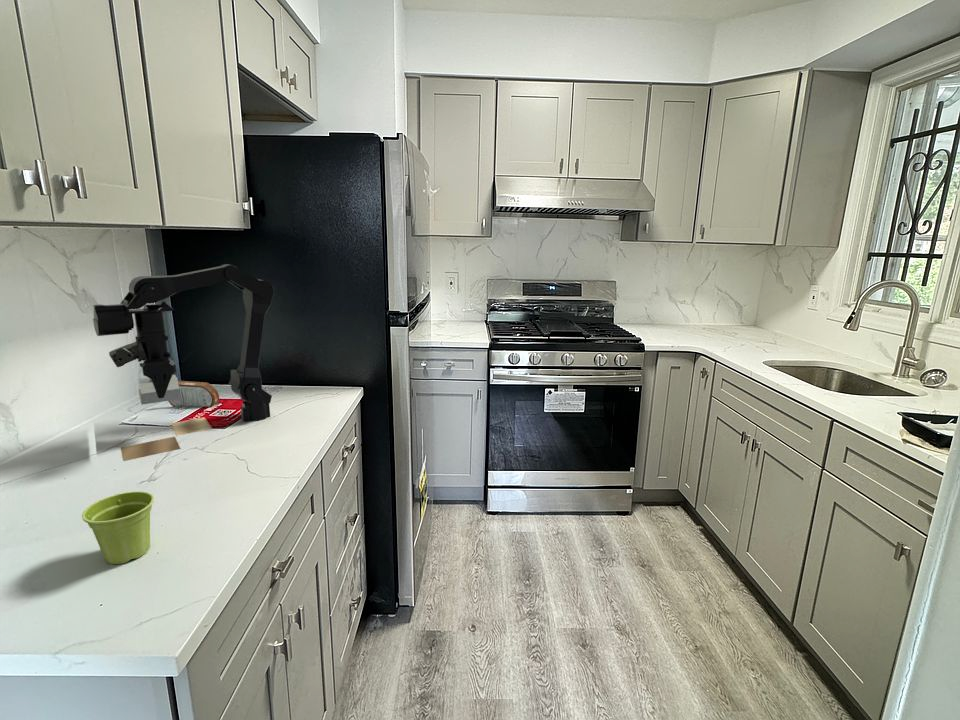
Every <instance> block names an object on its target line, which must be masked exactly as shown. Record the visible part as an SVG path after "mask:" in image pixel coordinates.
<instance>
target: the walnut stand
mask: <svg viewBox="0 0 960 720" xmlns="http://www.w3.org/2000/svg"><path fill="white" fill-rule="evenodd" d="M177 450H182V449H181V447H180V444H179V442H178V441H177V439H176V437H175V436H171V437H165V438H161V439H156V440H151V441H146V442H141V443H135V444H131V445H126V446H121V447H120V451H121V454H122V458H123V459H122V460H123V462H125V461H127V462H128V461H131V460H136V459H140V458H144V457H150V456H155V455H159V454H163V453H169V452H173V451H177Z"/></svg>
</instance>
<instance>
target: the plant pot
mask: <svg viewBox="0 0 960 720" xmlns="http://www.w3.org/2000/svg"><path fill="white" fill-rule="evenodd" d="M154 501H155V497H154V494H153V493H150V492H148V491H144V490H143V491H139V490H138V491H134V490H133V491H125V492H121V493H116V494H113V495H109V496H107V497H104V498H102V499H99V500H98V501H95V502H94V503H92V504H90V505H89V506H88V507H86V508H85V509H84V510H83V512H82V513H81V518H82V521H84V522H85V523H87V525H88V526H89V528H90V529H91V530H92V532H93V535H94V538H95V540H96V542H97V544H98V546H99V548H100V549H99V550H100V552H101V555H102V557H103V558H104V561H105V562H106V563H107V564H110V565H118V564H125V563H128V562H129V561H131V560H132V559H138V558H141V557H142V556H144V555H145V554H146V553H147V552H148V551H149V549H150V548H151V511H152V506H153V503H154Z"/></svg>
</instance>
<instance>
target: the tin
mask: <svg viewBox="0 0 960 720" xmlns="http://www.w3.org/2000/svg"><path fill="white" fill-rule="evenodd" d="M178 386H179V388H180V393H181V399H177V400H170V401H168V403H169V404H170V405H171V406H172V407H179V406H190V407H209V408H212V407H215V406H216V405H218V404H219V401H220V394H219V392H218V390H217V389H216V387H215V386H213V385H212V384H210V383H209V382H206V381H205V382H203V381H201V382H200V381H188V380H186V381H185V380H178Z"/></svg>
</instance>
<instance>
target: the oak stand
mask: <svg viewBox="0 0 960 720" xmlns="http://www.w3.org/2000/svg"><path fill="white" fill-rule="evenodd" d="M170 425H171V428H172V429H173V431H174V433H175V435H176V436H181V435H187V434H191V433H196V432H201V431H207V430H211V429H213V427H212V426H211V425H210V423H209V422H208V420H207V419H206V418H205V416H204V417H198V418H194V419H186V420H183V421H178V422H172V423H170Z"/></svg>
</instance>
